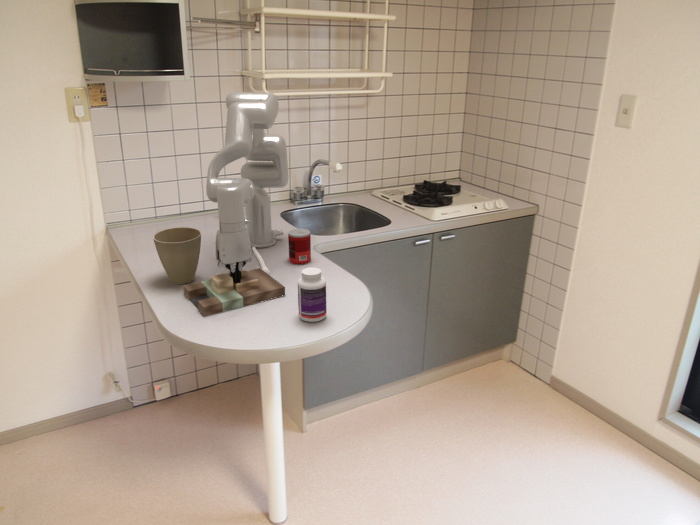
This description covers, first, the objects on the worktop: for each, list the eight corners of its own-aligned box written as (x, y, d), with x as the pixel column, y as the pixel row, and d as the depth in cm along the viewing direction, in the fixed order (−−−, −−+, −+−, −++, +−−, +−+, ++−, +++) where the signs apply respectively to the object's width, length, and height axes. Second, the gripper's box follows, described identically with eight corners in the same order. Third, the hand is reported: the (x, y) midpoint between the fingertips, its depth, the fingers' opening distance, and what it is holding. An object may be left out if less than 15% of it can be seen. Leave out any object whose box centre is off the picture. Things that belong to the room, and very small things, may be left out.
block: (227, 284, 178) (226, 272, 176) (233, 290, 174) (232, 278, 173) (211, 288, 175) (210, 276, 174) (218, 294, 171) (217, 282, 170)
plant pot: (157, 274, 192) (151, 229, 186) (202, 268, 197) (198, 225, 191) (160, 292, 179) (154, 244, 173) (208, 285, 184) (204, 239, 178)
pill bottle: (331, 318, 164) (331, 272, 158) (308, 326, 160) (307, 279, 154) (316, 308, 170) (316, 263, 165) (293, 315, 166) (292, 269, 160)
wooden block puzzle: (260, 276, 192) (259, 261, 190) (285, 295, 178) (284, 279, 176) (184, 294, 178) (182, 277, 176) (204, 316, 164) (203, 299, 162)
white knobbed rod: (245, 249, 216) (244, 242, 215) (256, 248, 217) (255, 241, 216) (259, 278, 191) (259, 270, 190) (271, 276, 193) (271, 268, 192)
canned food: (314, 259, 207) (314, 230, 203) (303, 266, 200) (303, 237, 196) (296, 255, 210) (295, 227, 206) (285, 263, 203) (284, 233, 199)
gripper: (250, 218, 177) (253, 273, 184) (203, 226, 169) (208, 283, 176) (260, 225, 171) (263, 281, 178) (213, 233, 163) (217, 291, 170)
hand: (236, 282), depth 177 cm, fingers closed
